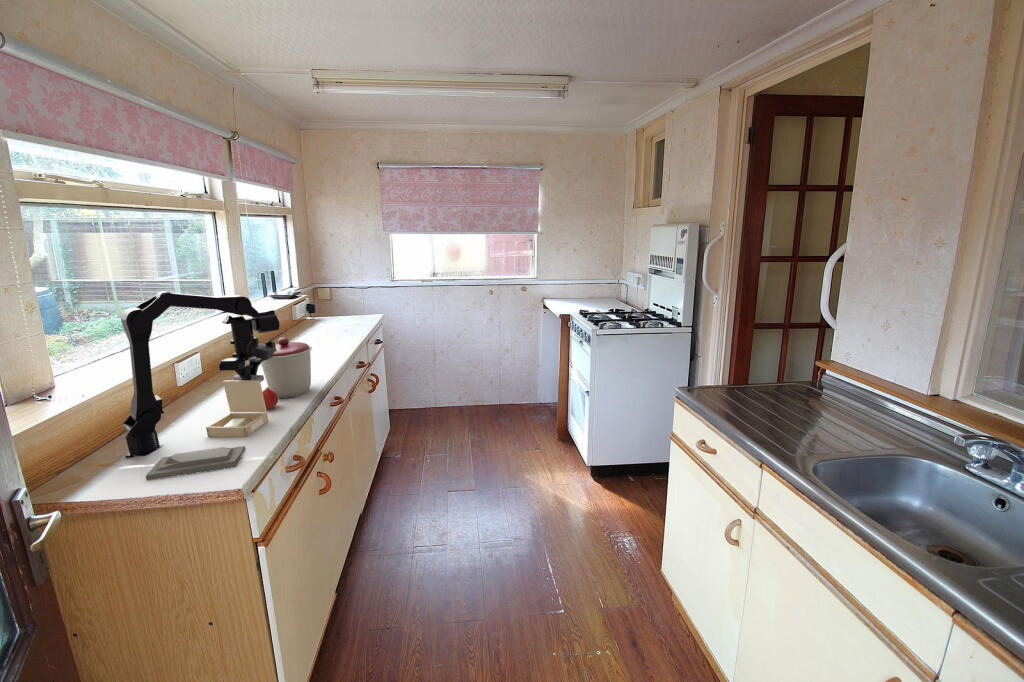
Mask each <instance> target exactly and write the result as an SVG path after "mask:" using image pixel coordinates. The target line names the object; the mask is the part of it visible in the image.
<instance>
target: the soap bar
mask: <svg viewBox="0 0 1024 682" xmlns="http://www.w3.org/2000/svg"><path fill="white" fill-rule="evenodd" d="M246 425H247V421H246V418H240V419H232V420H231V421H230V422H228V423H227V424H226V425H225V426H224V427H245V426H246Z"/></svg>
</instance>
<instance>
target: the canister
mask: <svg viewBox="0 0 1024 682" xmlns="http://www.w3.org/2000/svg"><path fill="white" fill-rule="evenodd" d="M275 345H276V350H277V351H276V352H274V354H273V358H269V359H268V360H264V361H263V362H262V363H261V364H260V365H261V367H262V371H263V376H264V379H265V381H266V384H267V387H269V389H270V390H272V391H274V392H275V393H276V394H277V395H278V399H287V398H295V397H299V396H302V395H304V394H305V393H307V392H308V391H309V390H310V388H311V385H312V380H311V379H312V367H311V366H312V365H311V364H312V363H311V362H312V361H311V358H312V357H311V351H312V349H313V347H312V346H311V345H310V344H308V343H306V342H301V341H295V342H294V341H292V342H291V341H290V340H289V338H288V337H280V338H279V339H278V340H277V343H275Z"/></svg>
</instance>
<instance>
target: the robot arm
mask: <svg viewBox="0 0 1024 682" xmlns="http://www.w3.org/2000/svg"><path fill="white" fill-rule="evenodd" d="M171 307H176V308H177V307H179V308H189V309H191V308H192V309H202V310H203V309H205V310H217V311H220V312H224V313H229V314H228V315H226V316H225V318H224V319H222V321H221V322H222V324H225V325H230V328H231V329H230V330H231V335H232V336H231V337H232V340H230V341H229V344H230V345H233V347H234V352H233V353H232V354H231V355H232V357H227V358H225V359H221V360H220V361H219V362H218V363H217V366H218V371H235V373H236V375H239V376H240V377H241V378H242V380H251V375H258V374H257V373H258V370H259V366H260V365H261V363H262V362H263V361H264V360H268V359H269V358H273V354H274V352H276V351H277V350H276V345H275V344H276V342H275V341H273V340H269V341H267V342H266V343H265V342H263V343H261V342H259V338H258V337H255V335H254V332H257V333H258V334H263V333H269V332H274V331H275V332H276V331H279V329H280V320H279V319H278V316H277V314H276V311H275V310H274V309H268V310H265V311H264V310H263V311H258V310H256V308H255V307H254V306H253V305H252V302H251V300H250V298H248V297H247V296H243V295H238V294H229V295H228V294H227V295H225V294H224V295H218V296H211V295H210V296H209V295H197V294H191V293H190V294H187V293H178V292H168V291H164V290H163V291H159V292H157V293H156V294H155V295H154V296H152V297H150V298H148V299H147V300H144V301H143V302H141V303H140V304H138V305H137V306H135V307H130V308H126V309H125V310H124V311H123V312H122V313H121V315H120V321H121V325H122V327H123V330H124V333H125V336H126V337H127V340H128V343H129V352H130V354H129V355H130V363H131V373H132V384H133V395H132V399H131V401H130V403H131V404H130V410H129V416H128V417H127V418H126V419H125V420H124V422H123V423H122V427H123V428H124V429H125V430H126V431H127V432H128V433H127V435H125V440H126V445H127V447H128V453H125V454H124V457H125V458H134V457H147V456H148V455H150V454H152V453H154V452H156V451H157V450H159V449H161V448H162V447H164V446H165V445H164V444H160V441H159V438H158V437H159V436H158V433H157V431H156V424H158V423H159V422H160V421H161V419H162V415H164V414H165V413H164V411H163V399H162V398H161V397H160V396H159V395H157V394H154V389H153V388H154V387H153V378H152V377H153V376H152V367H151V366H152V365H151V355H150V345H149V343H150V339H151V336H152V332H153V331H152V330H153V324H154V323H153V322H154V321H155V320H156V319H158V318H159V317H160V316H161V315H162V314H163V313H164V312H166V311H167V310H168V309H170V308H171ZM230 314H233V315H237V316H231V315H230ZM244 316H248V317H246V318H245V317H244Z"/></svg>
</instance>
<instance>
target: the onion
mask: <svg viewBox="0 0 1024 682" xmlns="http://www.w3.org/2000/svg"><path fill="white" fill-rule="evenodd" d="M262 392H263V397H264V402H265V406H266V410H271V409H274V408H275V406H277V404H278V403H279V398H278V395H277V394H276V393H275V392H274V391H272V390H270V389H269V387H268V386H267V387H265V389H264V390H262Z"/></svg>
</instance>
